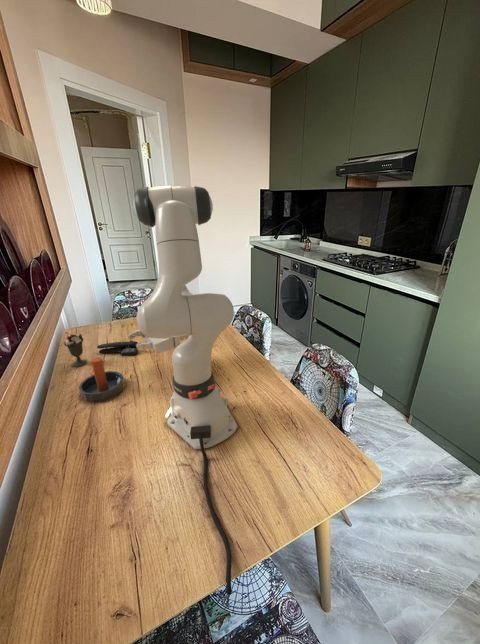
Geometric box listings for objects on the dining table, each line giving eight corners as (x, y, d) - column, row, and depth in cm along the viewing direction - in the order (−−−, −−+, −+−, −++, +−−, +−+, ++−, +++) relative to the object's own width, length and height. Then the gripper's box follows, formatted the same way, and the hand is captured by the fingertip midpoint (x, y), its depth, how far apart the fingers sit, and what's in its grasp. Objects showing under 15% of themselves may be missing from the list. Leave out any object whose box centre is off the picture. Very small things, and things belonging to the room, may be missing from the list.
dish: (129, 392, 101) (127, 384, 100) (85, 408, 93) (82, 399, 92) (119, 375, 111) (117, 367, 109) (78, 387, 103) (76, 379, 102)
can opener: (142, 349, 130) (140, 338, 127) (136, 357, 123) (133, 345, 121) (103, 348, 130) (100, 337, 127) (94, 356, 123) (91, 344, 121)
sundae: (67, 369, 114) (58, 334, 108) (73, 360, 120) (64, 327, 114) (86, 366, 116) (77, 333, 110) (90, 358, 122) (82, 326, 116)
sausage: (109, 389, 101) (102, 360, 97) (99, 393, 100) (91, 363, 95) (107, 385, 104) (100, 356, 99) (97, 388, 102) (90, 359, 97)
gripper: (159, 315, 117) (123, 323, 109) (180, 334, 102) (140, 345, 95) (161, 329, 120) (126, 338, 112) (181, 349, 105) (142, 361, 97)
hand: (132, 341), depth 103 cm, fingers open, 8 cm apart
